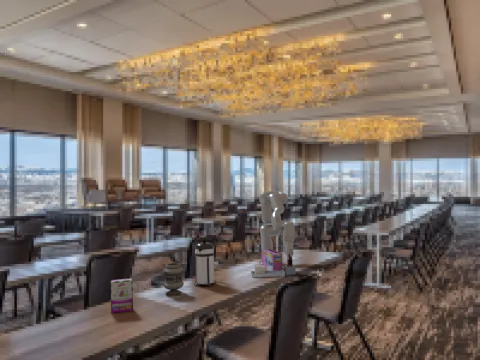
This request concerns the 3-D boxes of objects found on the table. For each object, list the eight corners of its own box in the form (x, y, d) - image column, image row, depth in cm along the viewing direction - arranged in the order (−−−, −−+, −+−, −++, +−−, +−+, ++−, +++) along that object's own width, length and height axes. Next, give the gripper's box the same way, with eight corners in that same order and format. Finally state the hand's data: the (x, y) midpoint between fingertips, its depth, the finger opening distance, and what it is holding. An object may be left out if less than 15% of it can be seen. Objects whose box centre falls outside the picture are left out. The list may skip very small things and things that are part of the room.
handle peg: (287, 267, 287) (287, 253, 287) (291, 267, 287) (291, 253, 287) (287, 268, 284) (287, 254, 284) (292, 268, 284) (292, 254, 284)
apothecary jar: (159, 295, 237) (159, 265, 237) (171, 290, 248) (170, 261, 248) (176, 297, 232) (176, 266, 232) (187, 292, 243) (187, 262, 243)
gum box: (260, 266, 313) (260, 249, 314) (270, 265, 316) (269, 248, 316) (273, 272, 291) (272, 254, 291) (282, 271, 293) (282, 253, 294)
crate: (255, 274, 285) (254, 265, 285) (264, 274, 285) (263, 264, 285) (255, 276, 278) (255, 266, 278) (265, 276, 279) (264, 266, 279)
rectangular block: (251, 274, 287) (251, 270, 287) (282, 273, 288) (282, 269, 288) (252, 277, 277) (252, 273, 277) (285, 276, 278) (284, 272, 278)
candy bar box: (133, 308, 212) (132, 277, 212) (133, 311, 207) (132, 280, 207) (111, 310, 209) (110, 279, 209) (110, 313, 204) (110, 281, 204)
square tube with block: (283, 271, 294) (283, 263, 294) (292, 271, 294) (292, 263, 294) (285, 275, 282) (285, 266, 282) (295, 274, 282) (295, 266, 282)
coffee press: (220, 285, 256) (220, 239, 257) (197, 288, 250) (196, 241, 251) (212, 279, 272) (212, 236, 273) (190, 282, 267) (189, 237, 267)
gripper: (282, 237, 294) (282, 262, 294) (285, 240, 278) (286, 266, 277) (292, 237, 294) (293, 262, 294) (296, 240, 278) (297, 266, 278)
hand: (289, 264), depth 286 cm, fingers closed on handle peg, 3 cm apart
